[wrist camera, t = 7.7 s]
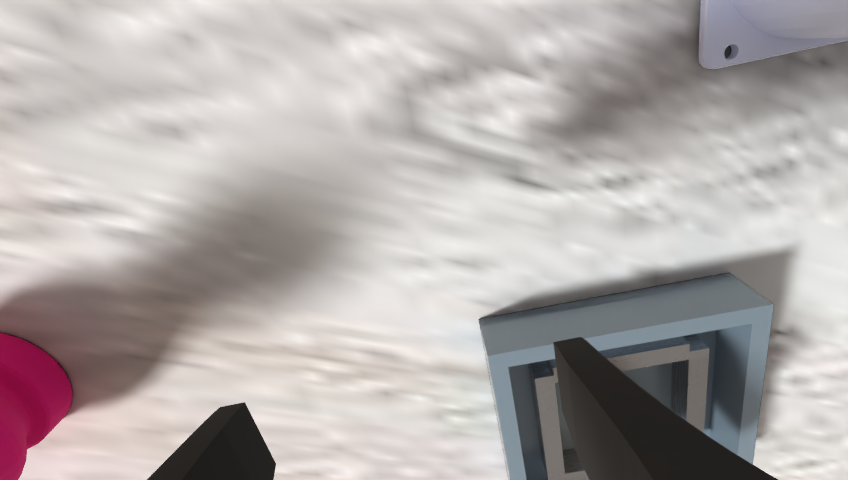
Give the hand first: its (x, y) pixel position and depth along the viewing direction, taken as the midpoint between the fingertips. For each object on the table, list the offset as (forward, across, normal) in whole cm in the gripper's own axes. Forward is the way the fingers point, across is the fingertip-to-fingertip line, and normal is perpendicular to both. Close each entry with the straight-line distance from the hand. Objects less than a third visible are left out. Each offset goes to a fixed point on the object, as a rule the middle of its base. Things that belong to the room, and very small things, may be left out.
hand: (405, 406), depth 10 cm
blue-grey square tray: (+10, -8, +11) cm, 17 cm away
